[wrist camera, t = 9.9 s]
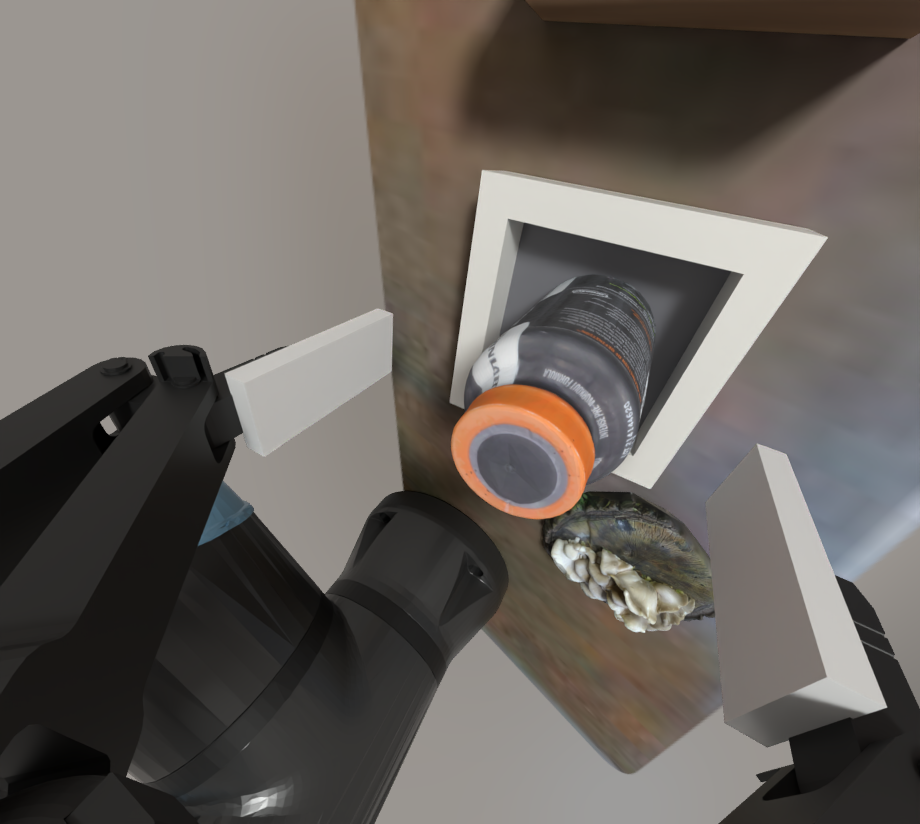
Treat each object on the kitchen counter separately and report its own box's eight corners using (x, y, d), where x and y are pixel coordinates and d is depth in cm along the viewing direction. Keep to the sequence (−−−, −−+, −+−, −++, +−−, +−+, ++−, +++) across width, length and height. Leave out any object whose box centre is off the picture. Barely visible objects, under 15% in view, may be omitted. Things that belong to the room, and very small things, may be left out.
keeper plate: (653, 460, 20) (650, 489, 18) (467, 385, 24) (449, 402, 22) (807, 228, 13) (827, 237, 11) (504, 170, 16) (482, 170, 15)
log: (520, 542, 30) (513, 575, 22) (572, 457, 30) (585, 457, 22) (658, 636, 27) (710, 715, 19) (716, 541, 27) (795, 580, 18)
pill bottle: (520, 293, 19) (388, 387, 10) (644, 253, 15) (595, 345, 7) (550, 393, 21) (461, 537, 13) (666, 377, 17) (648, 562, 9)
